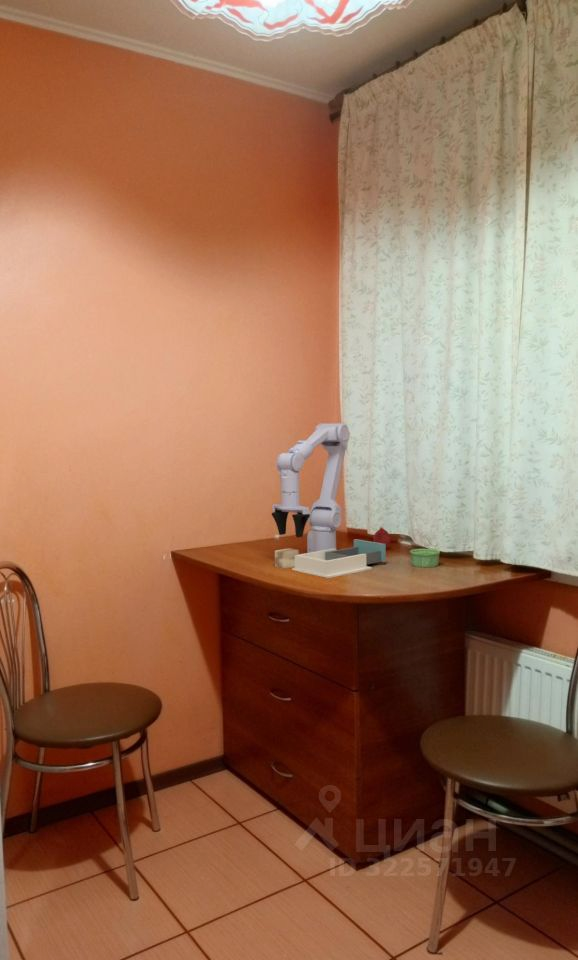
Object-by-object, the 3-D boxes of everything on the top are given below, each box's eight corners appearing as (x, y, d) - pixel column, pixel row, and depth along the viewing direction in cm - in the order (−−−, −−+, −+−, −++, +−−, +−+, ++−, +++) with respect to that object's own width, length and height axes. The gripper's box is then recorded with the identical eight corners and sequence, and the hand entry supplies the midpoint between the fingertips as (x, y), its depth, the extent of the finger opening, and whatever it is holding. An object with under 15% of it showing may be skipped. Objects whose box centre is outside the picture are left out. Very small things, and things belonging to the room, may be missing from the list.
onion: (392, 548, 259) (392, 525, 258) (387, 551, 253) (387, 528, 253) (376, 547, 261) (376, 525, 260) (371, 550, 256) (371, 527, 255)
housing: (334, 561, 237) (334, 547, 237) (371, 569, 225) (371, 554, 225) (292, 570, 226) (291, 554, 225) (328, 578, 214) (328, 562, 213)
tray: (355, 556, 241) (355, 539, 241) (385, 561, 231) (385, 543, 231) (322, 562, 232) (322, 544, 231) (352, 568, 222) (352, 550, 221)
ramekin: (445, 565, 230) (445, 551, 230) (428, 569, 224) (428, 555, 224) (422, 561, 237) (422, 547, 236) (404, 565, 230) (404, 551, 230)
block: (274, 566, 232) (274, 550, 232) (289, 563, 236) (289, 548, 235) (284, 568, 229) (283, 552, 228) (298, 565, 233) (298, 550, 232)
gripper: (264, 491, 233) (265, 534, 234) (297, 494, 222) (297, 539, 223) (281, 489, 237) (282, 532, 238) (313, 492, 227) (314, 536, 228)
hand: (290, 535), depth 231 cm, fingers open, 7 cm apart
